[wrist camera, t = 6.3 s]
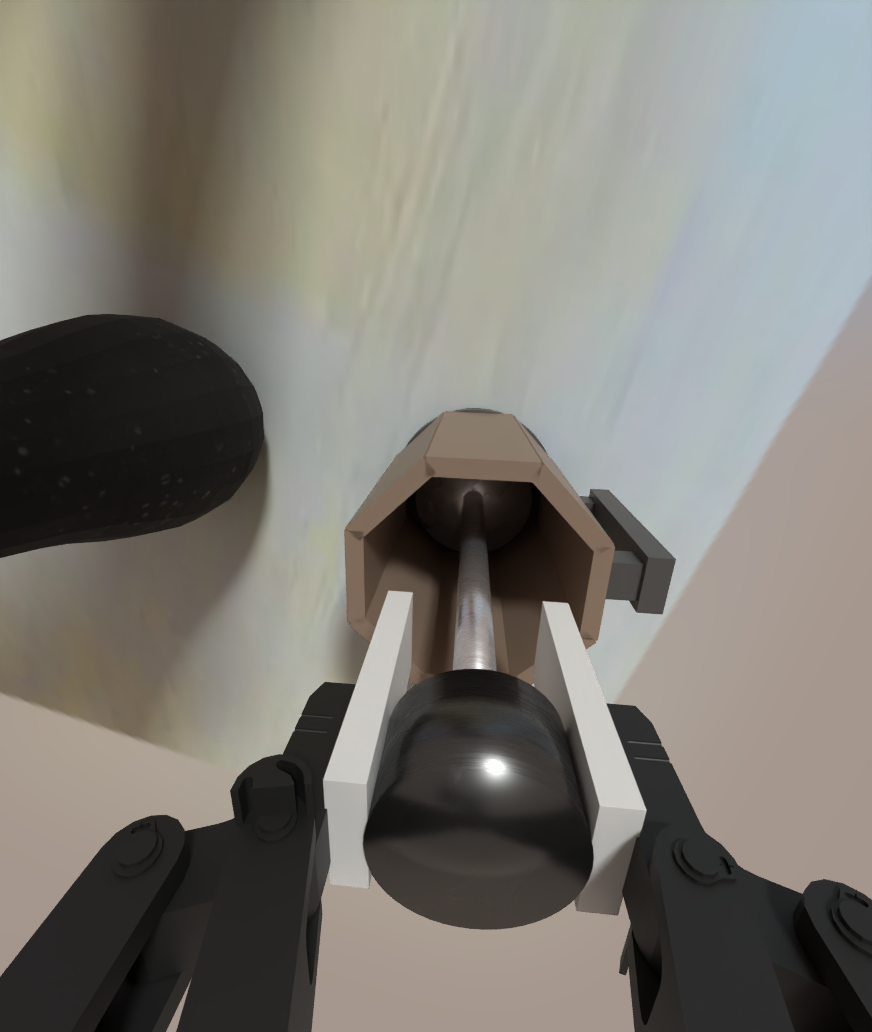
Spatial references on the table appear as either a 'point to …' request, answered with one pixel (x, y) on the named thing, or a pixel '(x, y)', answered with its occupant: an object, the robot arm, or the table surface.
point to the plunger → (477, 755)
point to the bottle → (118, 430)
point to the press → (512, 567)
